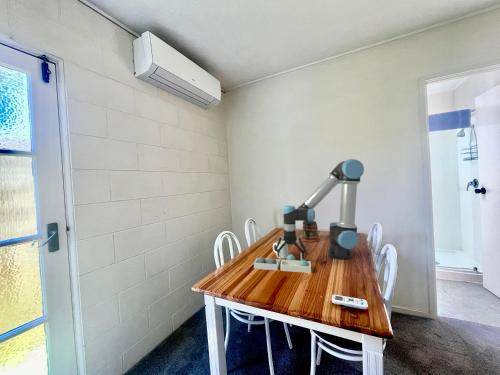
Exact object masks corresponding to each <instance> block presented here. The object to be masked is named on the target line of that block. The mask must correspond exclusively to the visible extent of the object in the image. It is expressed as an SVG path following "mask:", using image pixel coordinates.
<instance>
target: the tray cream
mask: <svg viewBox="0 0 500 375" xmlns="http://www.w3.org/2000/svg"><path fill="white" fill-rule="evenodd" d="M300 261H301V260H296V259H295V260H287V259H281V262H280V264H279V267H280V271H281V272H291V273H292V272H293V273H294V272H295V273H304V274H312V265H311V264H312V263H311V260H309V261H307V260H306V261H307V262H308V266H299V262H300Z"/></svg>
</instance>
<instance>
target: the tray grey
mask: <svg viewBox="0 0 500 375" xmlns="http://www.w3.org/2000/svg"><path fill="white" fill-rule="evenodd" d="M259 258H260V257H257V258H256V259H255V261H254V262H253V269H254V270H266V271H267V270H268V271H279V267H280V262H279V258H276V259H275V258H274V259H275V260H276V264H267V261H268V259H269V258H265V260H266V263H257V260H258V259H259Z"/></svg>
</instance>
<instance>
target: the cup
mask: <svg viewBox="0 0 500 375" xmlns="http://www.w3.org/2000/svg"><path fill="white" fill-rule="evenodd" d="M278 242H279V240H278V241H276V242H274V243H273V244H272V250H273V253H275V254H276V258H277V259H279V257H278V256H277V251H275V247H276V246H277V244H278ZM284 242H285V241H284V240H282V241H281V242H280V244H279V246H278V248H277V249H279V248H280V247H281V245H282V244H283V243H284ZM280 251H281V259H286V258H287V255H289V245H288V244H286V245H285V246H284V247H283V248H282V249H281V250H280Z"/></svg>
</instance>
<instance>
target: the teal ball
mask: <svg viewBox="0 0 500 375" xmlns="http://www.w3.org/2000/svg"><path fill="white" fill-rule="evenodd" d="M285 260H296V256H295V255H294V254H293V253H288V255H287V258H285Z"/></svg>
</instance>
